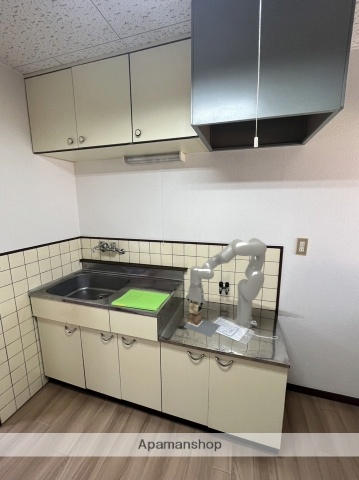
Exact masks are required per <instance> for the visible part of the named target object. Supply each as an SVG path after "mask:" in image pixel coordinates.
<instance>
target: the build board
mask: <svg viewBox="0 0 359 480" xmlns="http://www.w3.org/2000/svg"><path fill="white" fill-rule="evenodd" d="M183 327H184V328H185V329H189V330H190V331H192V332H196V333H198V334H201V335H204V336H206V337H209V338H212V337H213V335H214V334H215V333H216V332H217V330H219V328H220V327H221V325H220V324H217V323H214V322H212V321H209V320H206V319H203V318H202V321H201V322H200V323H199V324H198V326H197V325H194V324H191V323H190V320H189V321H188V322H186V324H185V325H183Z"/></svg>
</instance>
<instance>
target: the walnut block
mask: <svg viewBox="0 0 359 480" xmlns="http://www.w3.org/2000/svg"><path fill="white" fill-rule="evenodd" d="M202 319H203V317H202V313H201V312H199V313H198V314H194V313H191V312H190V314H189V321H190V323H191V324H194V325H197V326H198V324H199V323H200V322H201V321H202Z"/></svg>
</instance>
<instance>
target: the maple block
mask: <svg viewBox="0 0 359 480" xmlns="http://www.w3.org/2000/svg"><path fill="white" fill-rule="evenodd" d="M198 306H199V304H198V302H196V301H193V300H192V302H191V303H189V307H188V309H189V310H188V311H189V313H190V314H191V313H194V314H198V313H201V312H202V309H201V310H200V311H198Z"/></svg>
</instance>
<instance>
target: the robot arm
mask: <svg viewBox="0 0 359 480" xmlns="http://www.w3.org/2000/svg"><path fill="white" fill-rule="evenodd" d="M267 249H268V248H267V244H266V243H265V242H263V241H262V240H260V239H258V238H256V237H253V238H250V239H249V240H248V242H245V241H243V240H241V239H238V238H237V239H233V240H232V241H231V242H229V244H227V245H226V246H225V247H224V248H223V249H222V250H221V251H220V252H218V253H217V254H215V255H213V256H212V257H211V256H210V258H209V259H207V260H206V261H205V262H204V263H203V264H202V266H199V265H193V266H191V267H190V274H189V275H190V276H189V277H190V278H189V287H188V290H187V291H188V293H187V294H186V295H185V298H186V299H187V301H188V303H189V304H190V303H191V302H193V301H196V302H198V304H199V306H198V311H200V310H201V311H202V309H203V307H202V306H203V305H204V304H206V303H207V301H206V299H205V293H204V289H203V288H204V284H203V283H202V282H203V281H202V280H212V279H213V278H214V276H215V272H214V269H216V268H217V267H218V266H219V265H222V264H229V263H230V262H231V261H232V260H233V259H234V258H236V257H237V256H240V257H250V259H249V262H248V264H247V267H246V269H245V270H244V271H245V272H244V274H245V277H246V278H243V279H241V280H239V281H238V283H237V305H236V306H237V308H236V318H234V319H233V321H234V324H235V325H236V326H238V327H239V328H245V329H250V328H252V327H253V326H255V327H258V323H257V321H256V320H254V319H253V317H252V313H253V312H252V311H253V310H252V309H253V301H254V300H255V299H256V298H257V297H258V296H259V294H260V291H261V289H262V287H263V284H264V282H265V274H264V273H263V271H262V268H263V266H264V264H265V261H266V252H267Z"/></svg>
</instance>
